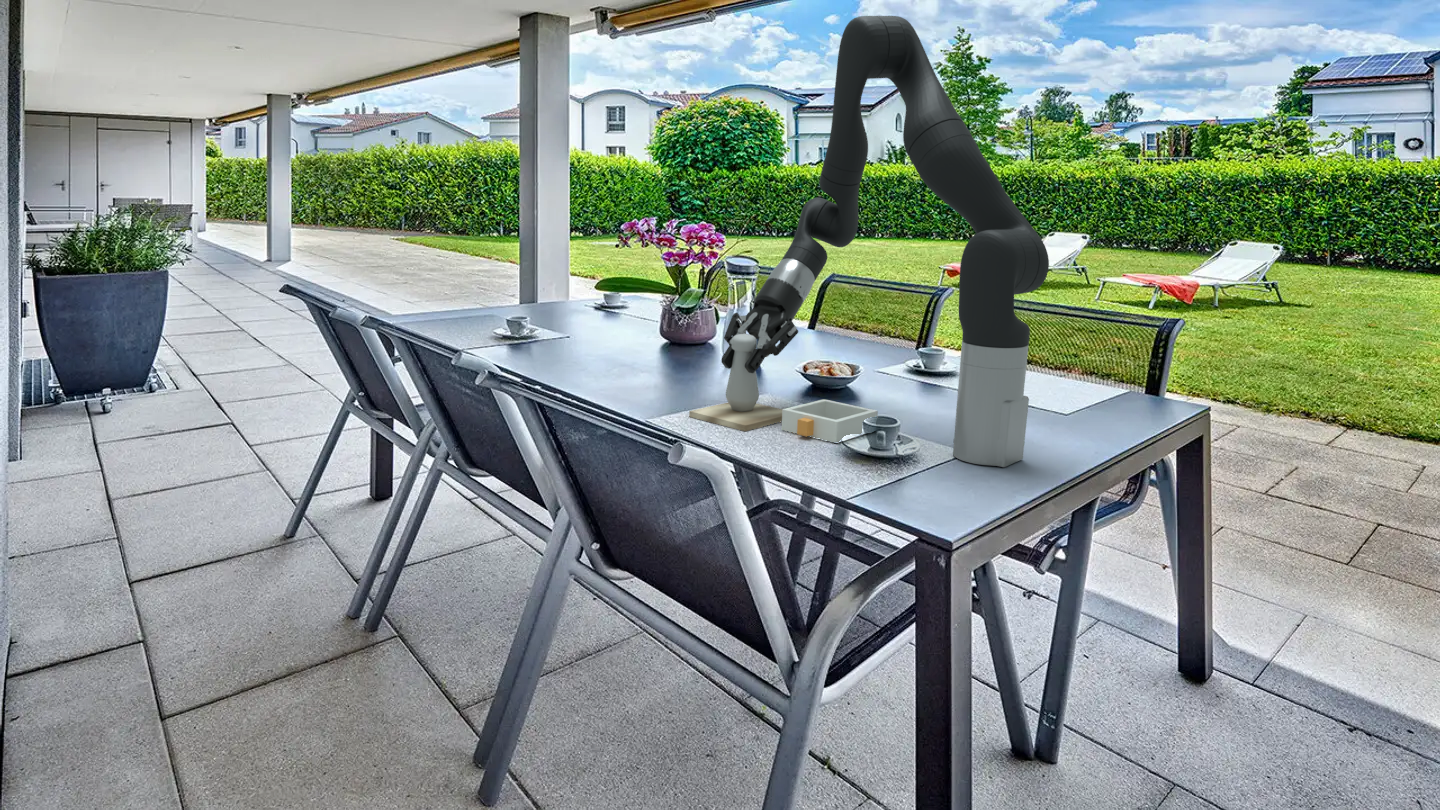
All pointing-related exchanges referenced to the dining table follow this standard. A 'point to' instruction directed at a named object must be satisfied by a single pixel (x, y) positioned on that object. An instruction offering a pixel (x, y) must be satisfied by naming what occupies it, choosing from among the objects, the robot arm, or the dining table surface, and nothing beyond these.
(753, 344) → the salt shaker
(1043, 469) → the dining table surface
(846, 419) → the pale grey open tray
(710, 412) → the oak board
